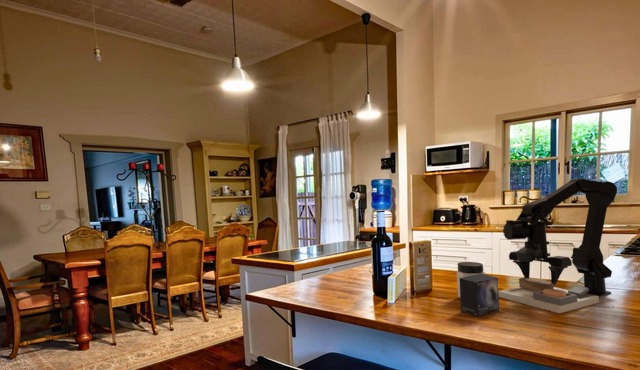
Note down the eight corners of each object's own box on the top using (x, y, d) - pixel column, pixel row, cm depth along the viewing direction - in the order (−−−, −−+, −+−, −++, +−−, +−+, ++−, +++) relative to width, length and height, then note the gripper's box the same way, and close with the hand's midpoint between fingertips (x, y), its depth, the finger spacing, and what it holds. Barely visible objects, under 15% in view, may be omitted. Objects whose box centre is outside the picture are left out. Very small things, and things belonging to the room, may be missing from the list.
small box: (478, 317, 97) (476, 281, 98) (459, 311, 103) (457, 277, 103) (501, 311, 102) (498, 276, 102) (482, 305, 108) (480, 273, 108)
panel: (536, 288, 124) (535, 278, 124) (599, 302, 106) (597, 289, 106) (499, 297, 116) (498, 285, 116) (559, 313, 98) (558, 299, 98)
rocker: (577, 288, 110) (576, 285, 110) (589, 290, 107) (588, 287, 107) (568, 293, 108) (567, 290, 108) (580, 296, 105) (579, 293, 105)
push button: (551, 294, 108) (550, 287, 108) (571, 298, 102) (570, 292, 102) (538, 297, 105) (538, 290, 105) (558, 301, 100) (558, 295, 100)
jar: (475, 303, 110) (473, 267, 110) (454, 298, 117) (451, 263, 117) (490, 298, 115) (488, 263, 115) (469, 293, 121) (466, 260, 122)
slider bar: (525, 286, 120) (524, 277, 120) (553, 292, 111) (553, 283, 111) (519, 287, 119) (518, 278, 119) (548, 293, 110) (547, 284, 110)
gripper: (497, 238, 122) (500, 281, 121) (549, 243, 105) (553, 292, 104) (517, 235, 127) (520, 277, 126) (570, 240, 110) (574, 288, 109)
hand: (540, 283), depth 116 cm, fingers open, 9 cm apart
